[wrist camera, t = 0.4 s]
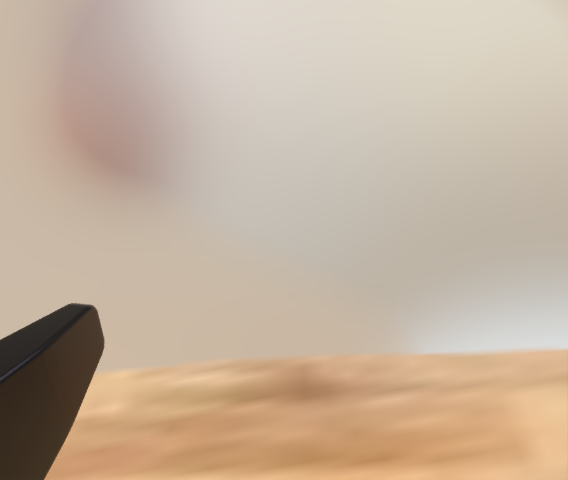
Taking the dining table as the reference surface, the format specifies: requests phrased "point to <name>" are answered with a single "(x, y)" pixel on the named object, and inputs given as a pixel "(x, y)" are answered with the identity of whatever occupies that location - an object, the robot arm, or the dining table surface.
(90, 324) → the robot arm
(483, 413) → the dining table surface
